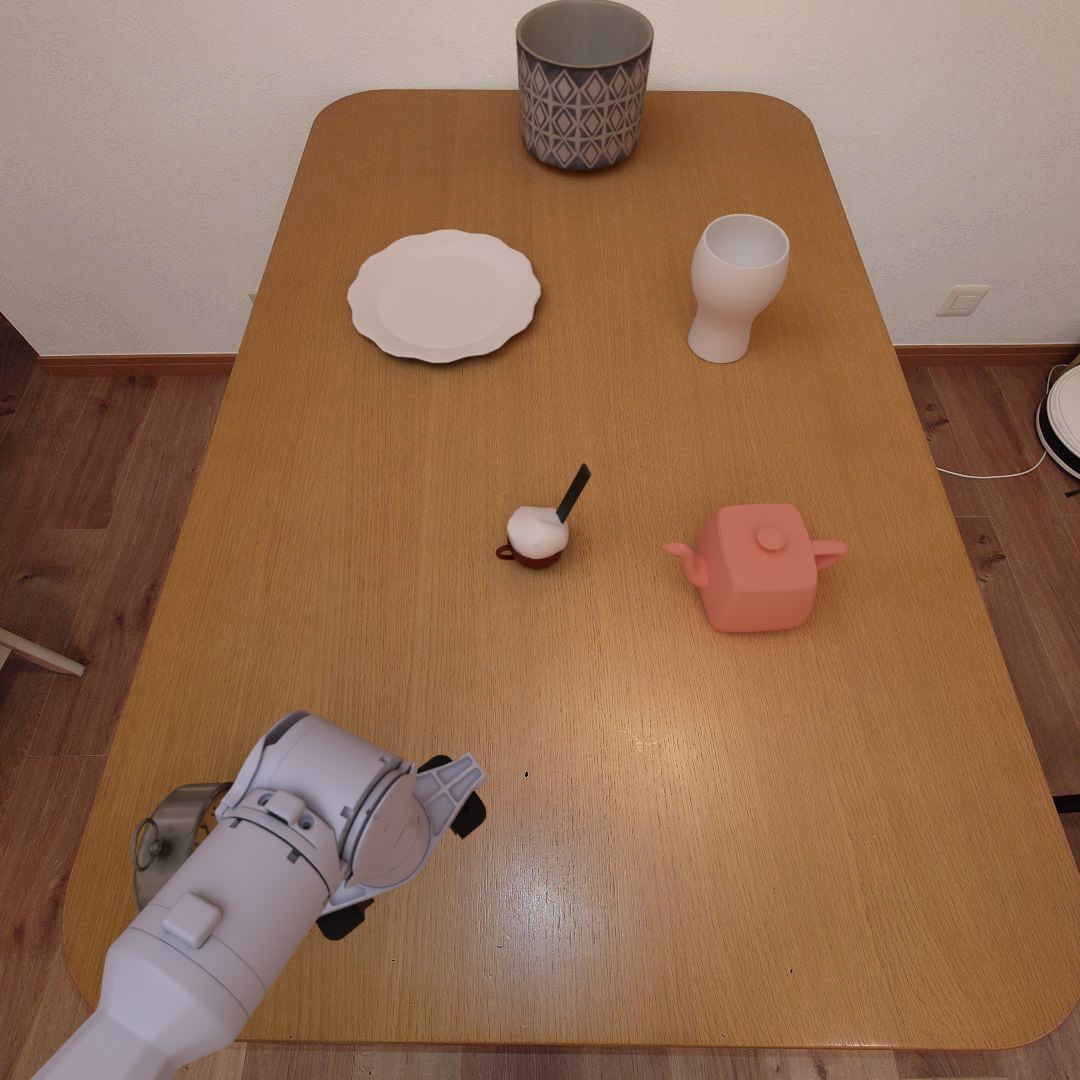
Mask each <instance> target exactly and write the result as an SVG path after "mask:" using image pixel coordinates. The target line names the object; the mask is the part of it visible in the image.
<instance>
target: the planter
mask: <svg viewBox="0 0 1080 1080" xmlns="http://www.w3.org/2000/svg"><path fill="white" fill-rule="evenodd" d="M654 38H655V31H654V27H653V24H652V23H651V22H650V20H649V19H648V18H647V16H645V15H644V14H643V13H641V12H640V11H638V10H636V9H635V8H633V7H631V6H629V5H626V4H624V3H621V2H617V1H614V0H553V1H549V2H547V3H544V4H542V5H541V4H540V5H538V6H536V7H534V8H533V9H531V10H530V11H527V12H526V14H524V15H523V16H522V17H521V18H520V20H519V21H518V23H517V25H516V28H515V43H516V64H517V65H516V66H517V81H518V102H519V118H520V119H519V120H520V136H521V141H522V144H523V146H524V148H525V149H526V151H527V152H528V153H529V154H530V155H531V156H532V157H533V158H534V159H536V160H537V161H539V162H540V163H543V164H544V165H547V166H548V167H552V168H556V169H559V170H563V171H564V170H565V171H570V172H592V171H598V170H599V171H600V170H603V169H608V168H610V167H614V166H615V165H618V164H620V163H621V162H623V161H625V160H626V159H627V158H629V157H630V156H631V155H632V154H633V152H634V151H635V149H636V148H637V146H638V144H639V141H640V135H641V128H642V121H643V114H644V109H645V108H644V107H645V101H646V100H645V99H646V94H647V87H648V79H649V73H650V66H651V60H652V52H653V45H654Z"/></svg>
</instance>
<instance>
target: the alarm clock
mask: <svg viewBox="0 0 1080 1080" xmlns="http://www.w3.org/2000/svg"><path fill="white" fill-rule="evenodd" d="M234 782H235V781H225V782H206V783H205V782H200V783H198V782H197V783H187V784H183V785H179V786H178V787H176V788H174V789H173V790H172V791H170V792H169V793H168V794H167V795H166V796H164V797H163V799H162V800H161V801H160V802H159V804H158V805H157V806H156V807H155V809H154V810H153V812H152V814H151V815H150V817H145V818H143V819H142V820H141V821H140V822H139V823H138V824H137V825H136V827H135V830H134V833H133V837H132V841H131V848H130V857H131V863H132V866H133V868H134V869H133V897H134V903H135V908H136V912H137V916H138V915H139V914H140V913H141V911H142V910H143V909H144V908H145V907H146V906H147V905H148V903H149V902H150V901H151V900H152V899H153V898H154V897H155V895H156V894H157V893H158V892H159V891H160V890H161V889H162V887H163V886H164V885H165V884H166V883H167V882H168V881H169V880H170V878H171V877H172V876H173V875H174V874H175V873H176V872H177V870H178V869H179V868H180V867H181V866H182V865H183V864H184V862H185V861H186V860H187V859H188V858H189V857H190V856H191V855H192V853H193V852H194V851H195V850H196V849H197V848H198V847H199V845H200V844H201V843H202V842H203V841H204V840H205V839H206V838H207V836H208V835H209V834H210V833H211V832H212V831H213V830H214V828H215V827H216V826H217V825H218V822H217V819H216V815H215V811H216V809H217V808H218V807H219V805H220V803H221V800H222V799H223V798H224V796H225V795H226V794H227V793H228V792H229V790H230V789H231V787H232V786H233V784H234ZM144 826H145V827H144ZM143 827H144V829H143V832H142V834H141V836H140V840H139V843H138V839H139V835H140V833H141V831H142V828H143ZM137 845H138V847H137Z"/></svg>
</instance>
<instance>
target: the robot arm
mask: <svg viewBox="0 0 1080 1080" xmlns="http://www.w3.org/2000/svg"><path fill="white" fill-rule="evenodd" d="M233 782H234V784H233V786H232V787H231V789H230V790H229V792H228V793H227V794H226V795H225V796H224V798H223V799H222V800H221V803H220V805H219V807H218V808H217V809H216V811H215V815H216V819H217V822H218V825H217V826H216V827H215V828H214V830H213V831H212V832H211V833H210V834H209V835H208V836H207V838H206V839H205V840H204V841H203V842H202V843H201V844H200V845H199V847H198V848H197V849H196V850H195V851H194V852H193V853H192V855H191V856H190V857H189V858H188V859H187V860H186V861H185V862H184V864H183V865H182V866H181V867H180V868H179V869H178V870H177V872H176V873H175V874H174V875H173V876H172V877H171V878H170V880H169V881H168V882H167V883H166V884H165V885H164V886H163V887H162V889H161V890H160V891H159V892H158V893H157V894H156V895H155V897H154V898H153V899H152V900H151V901H150V902H149V903H148V905H147V906H146V907H145V908H144V909H143V910H142V911H141V913H140V914H139V915H138V914H137V916H136V917H135V918H134V919H133V920H132V922H130V923H129V925H128V926H127V927H126V928H125V929H124V930H123V931H122V933H121V934H120V935H119V936H118V937H117V938H116V939H115V941H114V942H113V943H112V944H111V945H110V946H109V947H108V950H107V951H106V955H105V958H104V965H103V973H102V981H101V987H100V996H99V1001H98V1004H97V1008H96V1009H95V1010H94V1012H92V1014H91V1015H90V1016H89V1017H88V1018H87V1019H86V1020H85V1021H84V1022H83V1023H82V1025H80V1026H79V1028H77V1030H76V1031H74V1032H73V1034H72V1035H71V1036H70V1037H69V1038H68V1039H67V1040H66V1041H65V1042H64V1043H63V1044H62V1045H61V1047H59V1049H57V1051H56V1052H55V1053H54V1054H53V1055H52V1056H51V1057H50V1058H49V1059H48V1060H47V1061H46V1062H45V1063H44V1064H43V1065H42V1066H41V1068H40V1069H39V1070H37V1072H36V1073H35V1074H34V1075H33V1076H32V1077H30V1079H29V1080H171V1079H172V1077H173V1075H174V1074H175V1073H176V1071H178V1070H179V1069H180V1068H181V1067H183V1066H185V1065H188V1064H190V1063H192V1062H195V1061H196V1060H199V1059H201V1058H204V1057H206V1056H210V1055H212V1054H214V1053H217V1052H219V1051H222V1050H223V1049H226V1048H228V1047H229V1046H231V1045H232V1044H234V1042H235V1041H236V1039H237V1038H238V1036H239V1035H240V1033H242V1030H243V1029H244V1027H245V1026H246V1025H247V1023H248V1022H249V1020H250V1019H251V1017H252V1016H253V1014H254V1013H255V1011H256V1010H257V1009H258V1007H259V1005H260V1004H261V1002H262V1001H263V1000H264V998H265V997H266V995H267V994H268V992H269V991H270V989H271V988H272V986H273V985H274V983H275V982H276V980H277V979H278V977H279V976H280V974H281V973H282V972H283V970H284V969H285V967H286V966H287V964H288V963H289V962H290V960H291V958H292V957H293V956H294V954H295V952H296V951H297V950H298V948H299V947H300V945H301V944H302V942H303V941H304V939H305V938H306V936H307V935H308V933H309V932H310V931H311V930H312V927H314V925H315V924H316V925H317V928H318V929H319V930H320V932H321V934H322V935H323V937H324V938H325V939H327V940H329V941H332V942H333V941H334V942H338V941H341V940H343V939H344V938H345V937H346V936H348V935H350V933H352V932H353V931H354V930H355V929H357V928H358V927H359V926H360V925H362V924H363V923H364V922H365V921H366V915H365V913H366V910H367V909H368V908H369V907H371V906H372V905H373V904H374V903H375V899H374V898H376V897H378V896H381V895H384V894H387V893H389V892H392V891H395V890H397V889H400V888H402V887H404V886H406V885H408V884H409V883H410V882H411V881H413V880H414V879H415V878H416V877H418V875H419V874H420V873H421V872H422V871H423V869H424V868H425V866H426V865H427V864H428V862H429V860H430V859H431V857H432V856H433V854H434V852H435V851H436V849H437V848H438V846H439V844H440V843H441V841H442V840H443V838H444V837H445V835H446V833H447V832H448V830H449V829H450V830H451V832H452V833H453V834H454V835H455V836H457V835H458V836H459V837H460V839H461V840H462V841H463V840H465V838H467V837H468V836H470V835H471V834H472V833H473V832H474V831H475V830H477V829H478V828H479V827H480V826H482V825H483V823H485V820H486V819H487V815H488V813H487V808H486V807H487V806H486V805H485V803H484V802H483V800H482V798H481V797H480V796H479V794H478V793H477V791H476V790H480V789H481V788H482V787H483V786H485V784H487V783H488V782H489V778H488V775H487V773H486V772H485V770H484V769H483V767H482V766H481V764H480V763H479V762H478V760H477V759H476V758H475V757H474V755H473V753H471V751H467V752H465V753H464V754H463V755H461V756H459V757H458V758H456V759H455V760H453V759H452V758H451V757H450V756H448V755H446V754H437V755H434V756H433V757H431V758H430V759H428V760H427V761H426V762H425V763H423V764H422V765H421V766H420V767H418V764H417V762H416V761H413V763H410V762H408V761H405V759H404V758H403V757H401V756H400V755H398V754H396V753H394V752H393V751H390V750H388V749H386V748H384V747H382V746H380V745H378V744H377V743H375V742H373V741H370V740H368V739H367V738H364V737H363V736H361V735H359V734H357V733H355V732H353V731H351V730H349V729H347V728H345V727H343V726H341V725H339V724H337V723H335V722H334V721H332V720H330V719H328V718H326V717H324V716H322V715H320V714H316V713H315V714H311V713H310V711H308V710H306V709H301V708H300V709H295V710H293V711H291V712H289V713H287V714H286V715H284V716H283V717H281V718H280V719H279V720H278V721H277V722H275V723H274V724H273V725H272V726H271V727H270V728H269V730H267V731H266V732H265V733H264V734H263V735H262V736H260V738H259V740H258V741H257V742H256V743H255V745H254V747H252V749H251V751H250V752H249V754H248V756H247V757H246V759H245V761H244V762H243V764H242V766H241V768H240V770H239V772H238V774H237V776H236V779H235V781H233Z"/></svg>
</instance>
